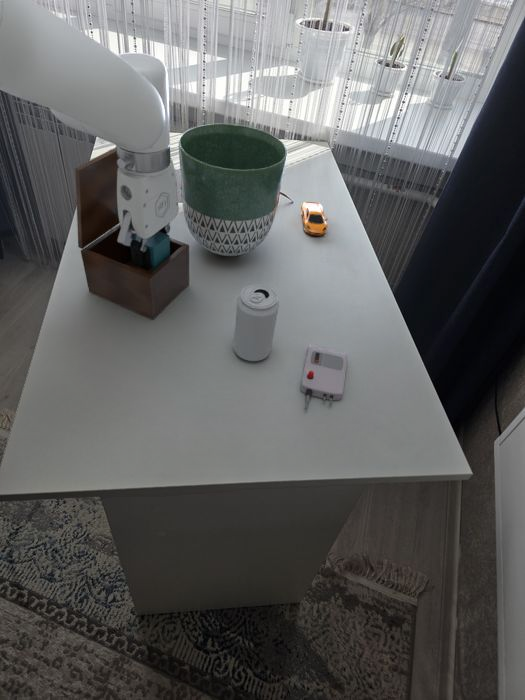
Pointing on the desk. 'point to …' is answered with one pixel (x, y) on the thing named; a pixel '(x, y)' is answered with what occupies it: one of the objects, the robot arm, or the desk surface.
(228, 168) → the planter
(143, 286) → the chest
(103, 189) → the lid
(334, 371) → the white electronic control box
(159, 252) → the block
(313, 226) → the toy car
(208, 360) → the desk surface
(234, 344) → the beverage can
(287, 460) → the desk surface
